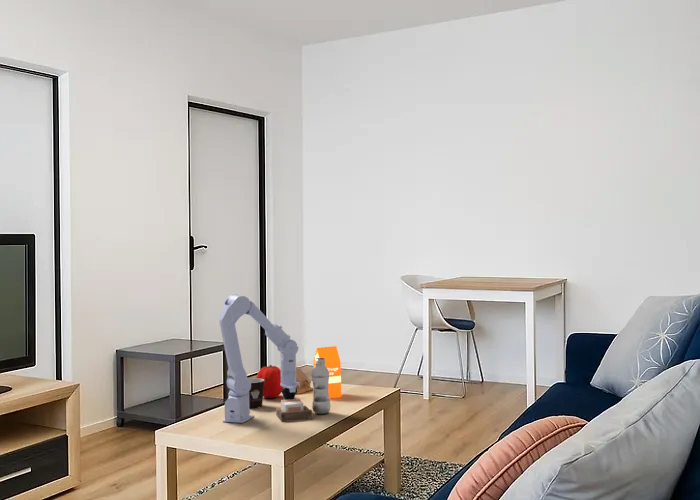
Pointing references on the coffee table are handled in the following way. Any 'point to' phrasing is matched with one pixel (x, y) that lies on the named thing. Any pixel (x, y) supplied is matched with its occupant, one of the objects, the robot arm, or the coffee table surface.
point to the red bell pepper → (270, 381)
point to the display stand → (294, 414)
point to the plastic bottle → (320, 387)
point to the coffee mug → (256, 393)
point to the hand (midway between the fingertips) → (289, 408)
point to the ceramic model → (302, 381)
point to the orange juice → (331, 369)
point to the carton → (291, 405)
